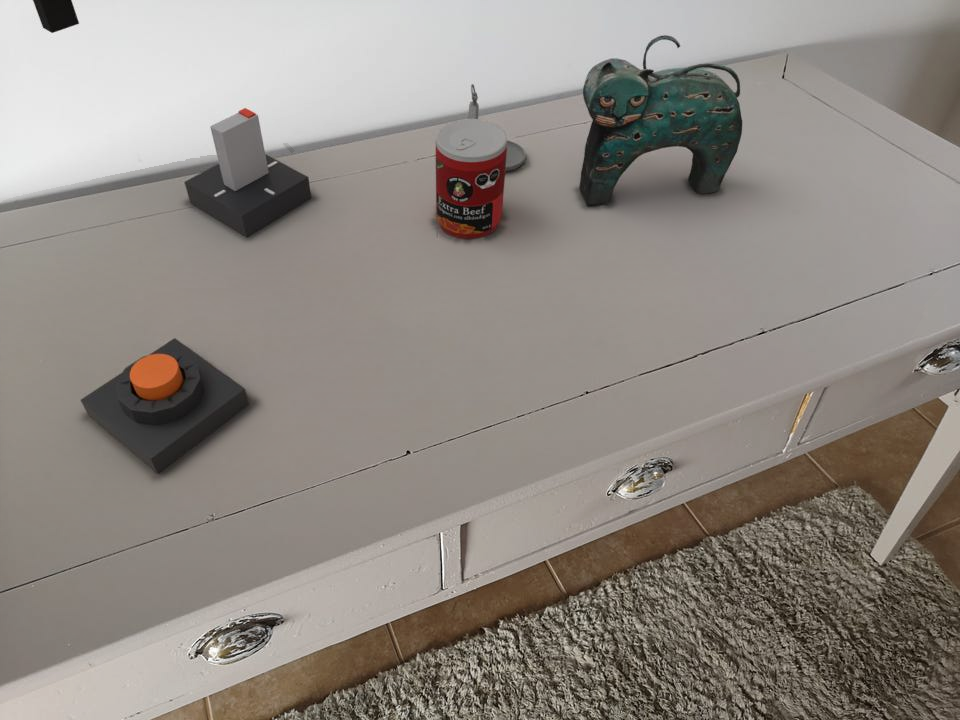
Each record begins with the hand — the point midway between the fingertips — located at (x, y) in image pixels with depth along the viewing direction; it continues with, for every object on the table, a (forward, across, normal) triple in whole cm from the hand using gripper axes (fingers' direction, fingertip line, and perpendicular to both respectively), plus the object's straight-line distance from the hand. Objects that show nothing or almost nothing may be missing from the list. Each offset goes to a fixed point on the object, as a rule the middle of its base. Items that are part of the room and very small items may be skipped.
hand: (61, 25), depth 71 cm
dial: (+20, -6, -12) cm, 24 cm away
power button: (+19, -26, +13) cm, 35 cm away
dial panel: (+23, -6, -12) cm, 27 cm away
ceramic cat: (+23, -40, -46) cm, 65 cm away
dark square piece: (+23, -26, +13) cm, 37 cm away
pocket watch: (+23, -22, -38) cm, 50 cm away
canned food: (+23, -28, -27) cm, 45 cm away
